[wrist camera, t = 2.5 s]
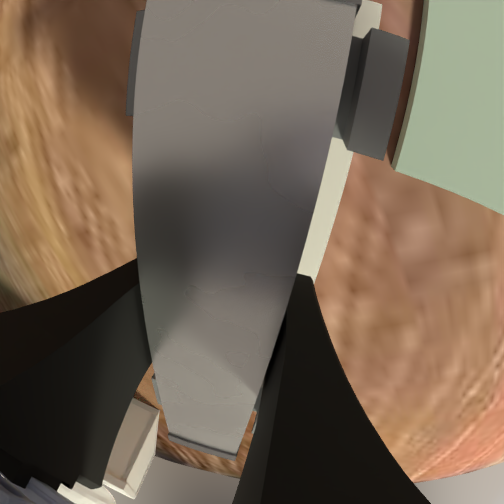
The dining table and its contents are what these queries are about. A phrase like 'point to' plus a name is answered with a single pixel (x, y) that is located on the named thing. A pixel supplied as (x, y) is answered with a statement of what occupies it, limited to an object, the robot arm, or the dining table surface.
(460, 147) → the mat
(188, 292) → the rail
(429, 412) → the dining table surface
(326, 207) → the standards
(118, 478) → the butter dish
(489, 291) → the dining table surface
